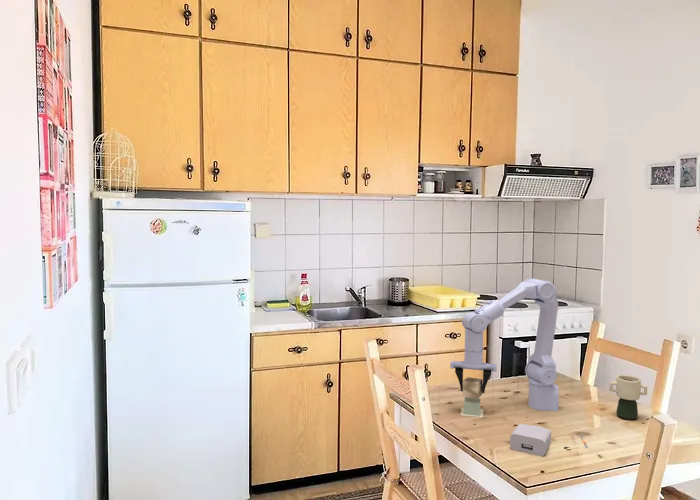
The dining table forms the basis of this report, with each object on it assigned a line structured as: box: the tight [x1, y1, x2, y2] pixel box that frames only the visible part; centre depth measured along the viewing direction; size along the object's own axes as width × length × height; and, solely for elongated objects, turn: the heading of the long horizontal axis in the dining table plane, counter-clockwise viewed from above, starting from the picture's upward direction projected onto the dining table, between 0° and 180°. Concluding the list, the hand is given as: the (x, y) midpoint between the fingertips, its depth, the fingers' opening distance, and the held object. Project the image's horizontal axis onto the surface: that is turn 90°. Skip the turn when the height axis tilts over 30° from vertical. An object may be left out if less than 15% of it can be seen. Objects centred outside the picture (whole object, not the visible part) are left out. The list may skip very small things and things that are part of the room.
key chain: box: [563, 433, 589, 450], centre depth 156 cm, size 13×7×1 cm, turn 162°
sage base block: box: [463, 397, 481, 416], centre depth 176 cm, size 5×5×4 cm
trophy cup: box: [609, 374, 648, 420], centre depth 176 cm, size 11×7×13 cm, turn 68°
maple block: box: [462, 376, 483, 399], centre depth 175 cm, size 5×5×5 cm
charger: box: [509, 423, 552, 457], centre depth 155 cm, size 5×9×15 cm
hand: (472, 391), depth 175 cm, fingers closed on maple block, 6 cm apart
